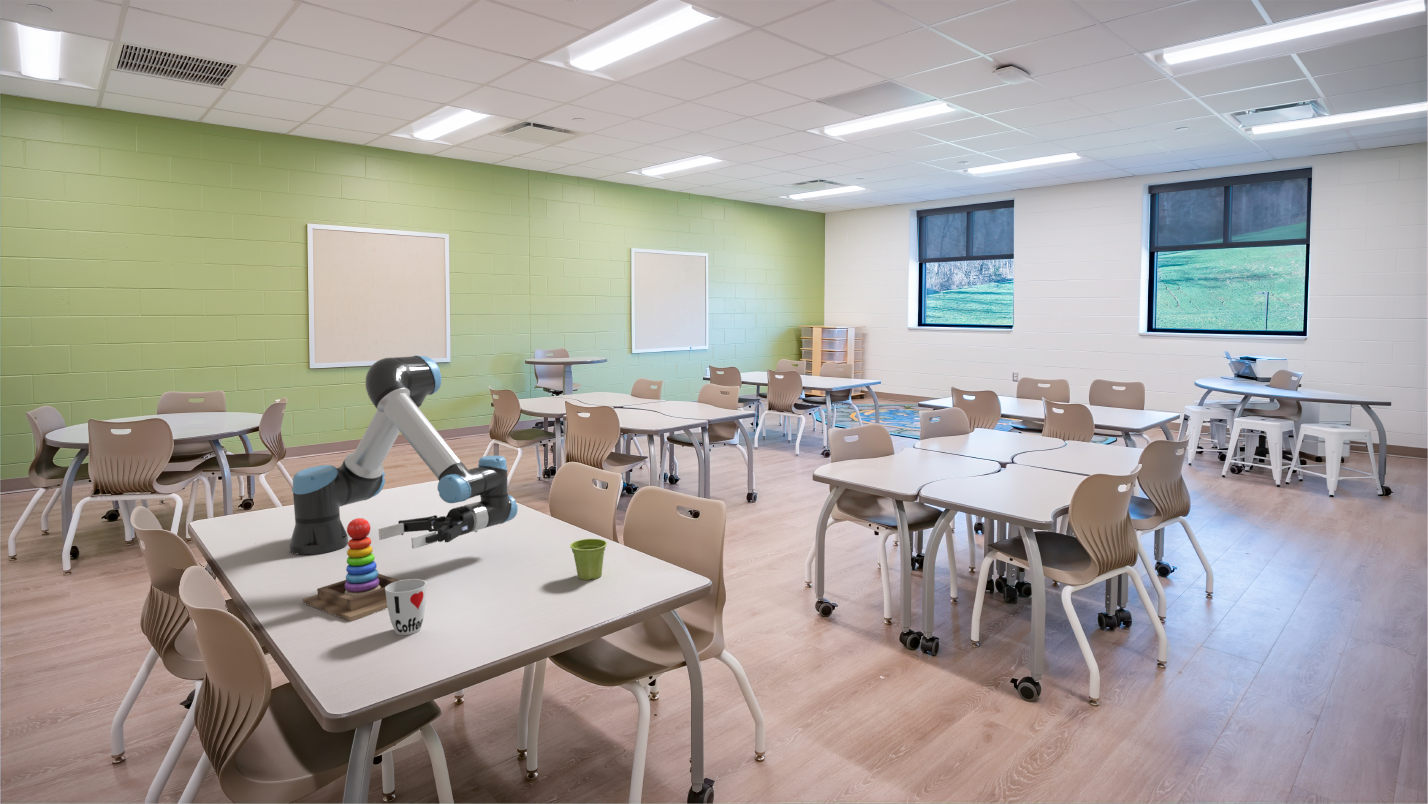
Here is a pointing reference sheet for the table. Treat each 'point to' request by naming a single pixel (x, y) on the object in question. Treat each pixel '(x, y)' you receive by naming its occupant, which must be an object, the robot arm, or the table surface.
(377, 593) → the walnut jig
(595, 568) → the plant pot
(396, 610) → the cup
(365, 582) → the stacking toy
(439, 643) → the table surface
